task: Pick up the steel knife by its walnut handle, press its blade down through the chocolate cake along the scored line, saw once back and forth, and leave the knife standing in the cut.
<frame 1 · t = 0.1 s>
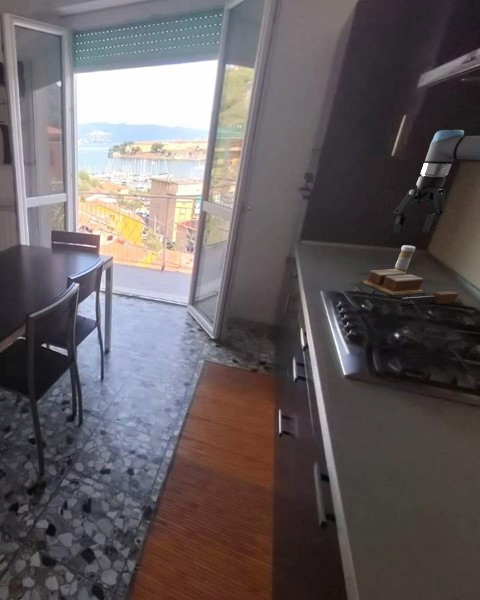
hand: (411, 232, 141), 23 cm above the worktop, tool pointing down, fingers open, 13 cm apart
knife: (442, 302, 136), on the worktop
sprinkles bottle: (398, 274, 165), on the worktop
cake: (391, 287, 150), on the worktop
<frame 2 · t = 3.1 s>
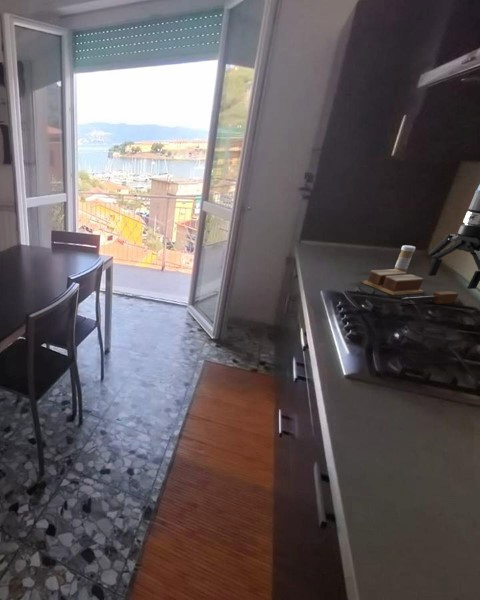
hand: (450, 281, 133), 8 cm above the worktop, tool pointing down, fingers open, 13 cm apart
nothing on the worktop moved.
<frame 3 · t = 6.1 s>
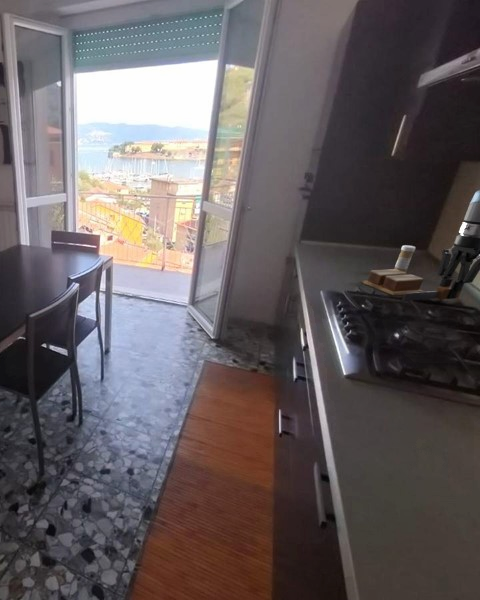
hand: (446, 296, 135), 2 cm above the worktop, tool pointing down, fingers closed on knife, 2 cm apart
knife: (445, 297, 135), point 2 cm above the worktop, touching gripper
everything else where it was.
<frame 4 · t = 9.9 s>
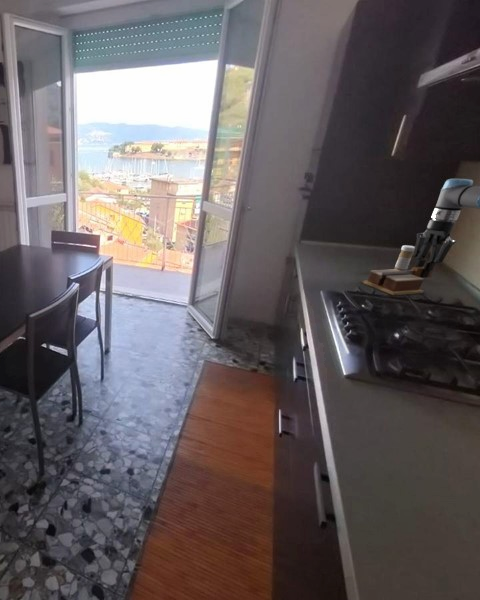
hand: (419, 275, 150), 5 cm above the worktop, tool pointing down, fingers closed on knife, 2 cm apart
knife: (419, 276, 150), point 4 cm above the worktop, touching gripper
everything else where it was.
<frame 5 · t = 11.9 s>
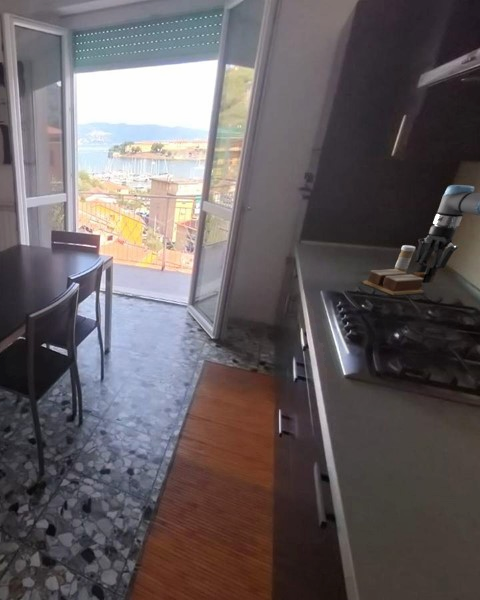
hand: (421, 281, 151), 2 cm above the worktop, tool pointing down, fingers closed on knife, 2 cm apart
knife: (421, 281, 151), point 2 cm above the worktop, touching gripper
everything else where it was.
when the fingers open (1 cm above the worktop, at t = 13.6 s): knife stays where it is, resting on cake.
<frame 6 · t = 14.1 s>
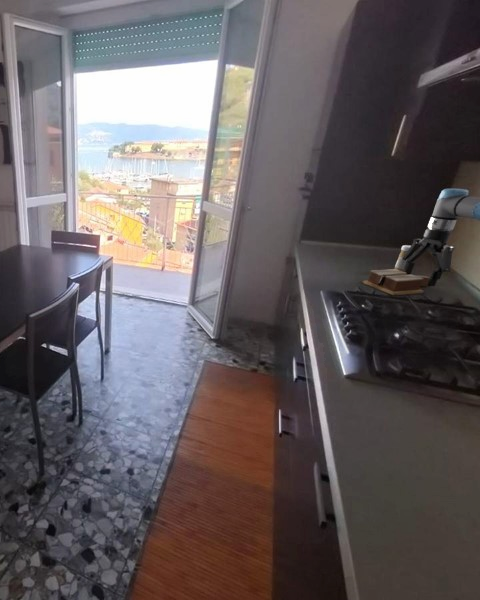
hand: (417, 281, 150), 2 cm above the worktop, tool pointing down, fingers open, 10 cm apart
knife: (415, 285, 151), on the worktop, tilted 6°, touching cake
everything else where it was.
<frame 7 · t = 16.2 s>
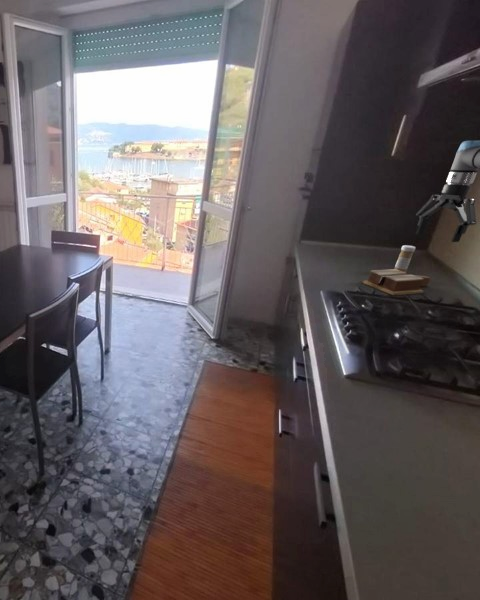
hand: (436, 237, 146), 20 cm above the worktop, tool pointing down, fingers open, 13 cm apart
nothing on the worktop moved.
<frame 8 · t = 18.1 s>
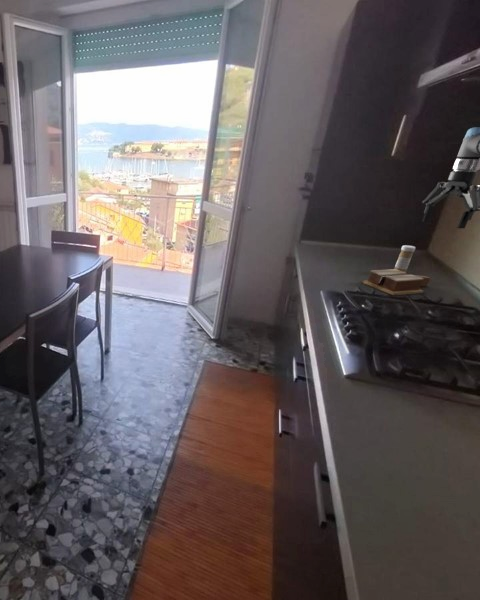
hand: (442, 224, 148), 25 cm above the worktop, tool pointing down, fingers open, 13 cm apart
nothing on the worktop moved.
at the end: knife 0.1 cm from the target spot, on the worktop; knife touching cake, worktop; the gripper is holding nothing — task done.
